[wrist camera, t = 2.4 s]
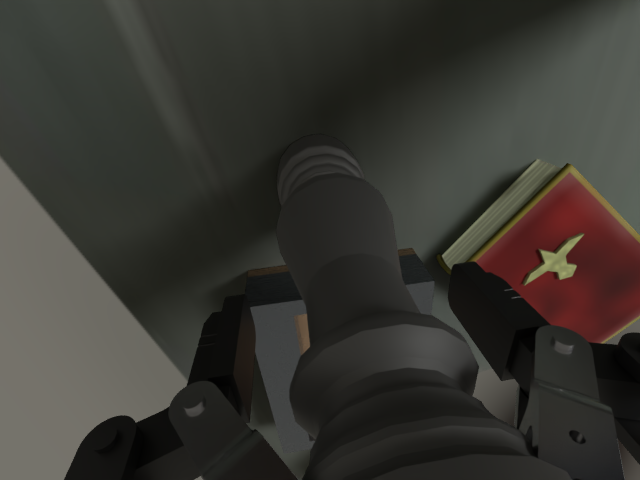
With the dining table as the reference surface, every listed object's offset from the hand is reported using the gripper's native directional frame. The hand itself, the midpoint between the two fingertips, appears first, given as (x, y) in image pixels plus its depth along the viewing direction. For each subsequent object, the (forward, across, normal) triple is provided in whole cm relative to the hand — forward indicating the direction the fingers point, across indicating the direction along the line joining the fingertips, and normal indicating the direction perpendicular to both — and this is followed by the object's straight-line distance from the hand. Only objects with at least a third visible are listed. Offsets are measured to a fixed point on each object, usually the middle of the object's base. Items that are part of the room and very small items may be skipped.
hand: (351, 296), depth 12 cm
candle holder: (+15, 0, 0) cm, 15 cm away
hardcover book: (+15, -22, +12) cm, 29 cm away
